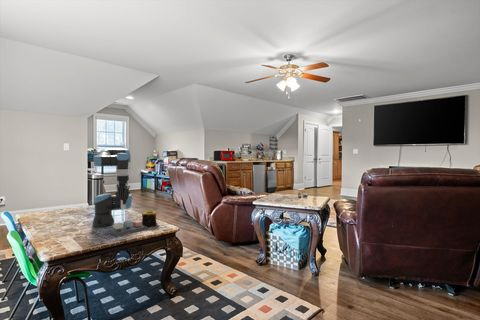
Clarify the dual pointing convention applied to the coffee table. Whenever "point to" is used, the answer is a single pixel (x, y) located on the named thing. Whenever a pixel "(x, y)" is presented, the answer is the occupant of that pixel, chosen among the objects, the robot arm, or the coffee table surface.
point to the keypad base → (127, 230)
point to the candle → (149, 218)
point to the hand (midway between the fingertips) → (123, 208)
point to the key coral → (137, 223)
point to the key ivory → (118, 226)
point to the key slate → (128, 224)
